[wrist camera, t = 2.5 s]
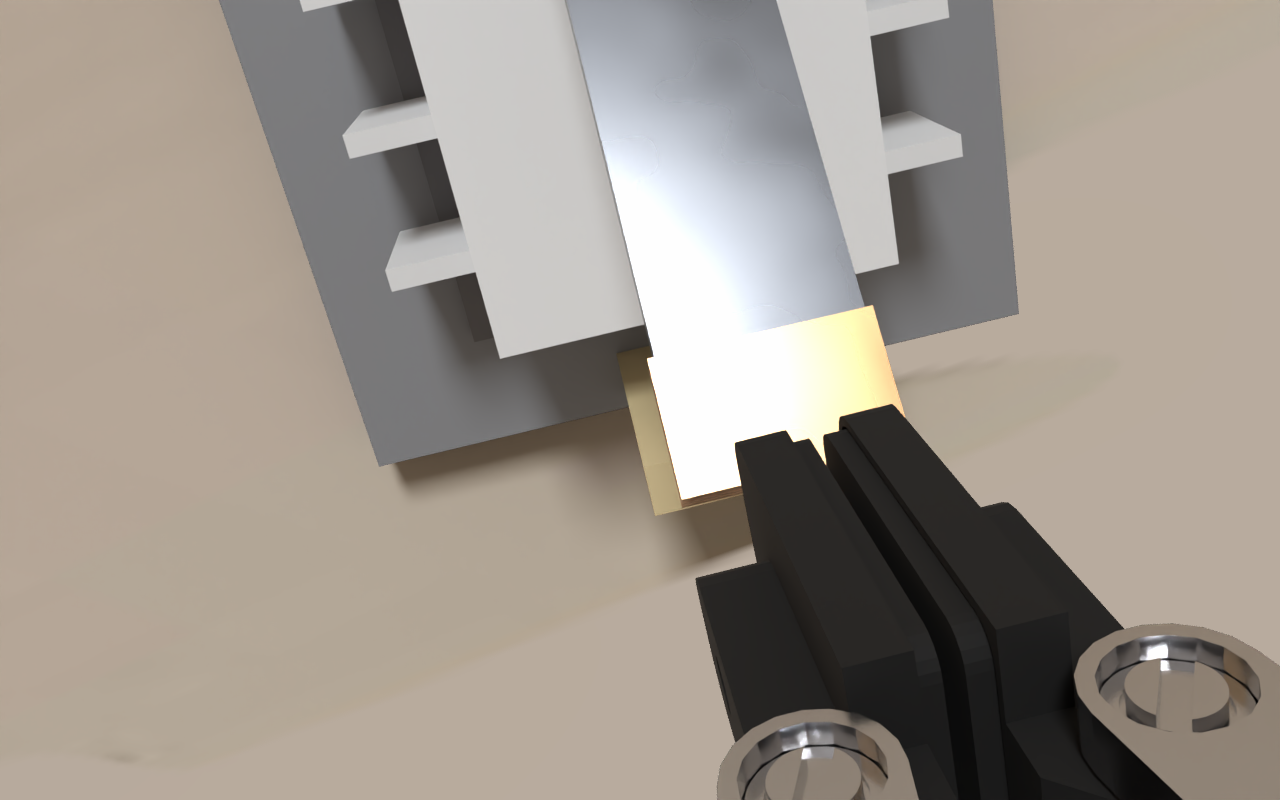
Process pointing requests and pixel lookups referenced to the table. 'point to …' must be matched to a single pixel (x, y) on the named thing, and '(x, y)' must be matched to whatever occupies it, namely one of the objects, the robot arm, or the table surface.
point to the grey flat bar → (727, 231)
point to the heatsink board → (579, 374)
